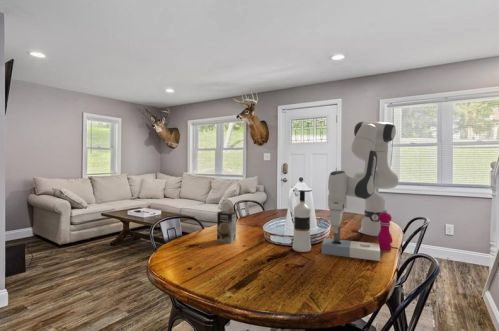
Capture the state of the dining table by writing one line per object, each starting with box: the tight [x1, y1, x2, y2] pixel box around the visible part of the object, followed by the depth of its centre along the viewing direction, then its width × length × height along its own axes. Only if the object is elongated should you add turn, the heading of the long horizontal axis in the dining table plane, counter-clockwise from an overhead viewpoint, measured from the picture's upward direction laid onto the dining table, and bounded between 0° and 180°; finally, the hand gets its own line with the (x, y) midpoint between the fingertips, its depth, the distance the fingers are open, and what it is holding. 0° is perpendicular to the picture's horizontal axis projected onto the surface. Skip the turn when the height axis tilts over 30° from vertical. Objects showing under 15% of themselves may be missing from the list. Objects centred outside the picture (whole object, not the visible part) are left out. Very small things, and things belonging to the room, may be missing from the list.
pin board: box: [321, 237, 381, 262], centre depth 139 cm, size 12×26×4 cm, turn 68°
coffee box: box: [216, 210, 237, 244], centre depth 159 cm, size 9×6×16 cm
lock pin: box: [333, 222, 342, 244], centre depth 142 cm, size 3×3×14 cm
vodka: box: [292, 190, 312, 253], centre depth 144 cm, size 9×9×30 cm
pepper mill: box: [376, 209, 393, 251], centre depth 148 cm, size 7×7×20 cm
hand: (336, 231), depth 141 cm, fingers open, 5 cm apart
